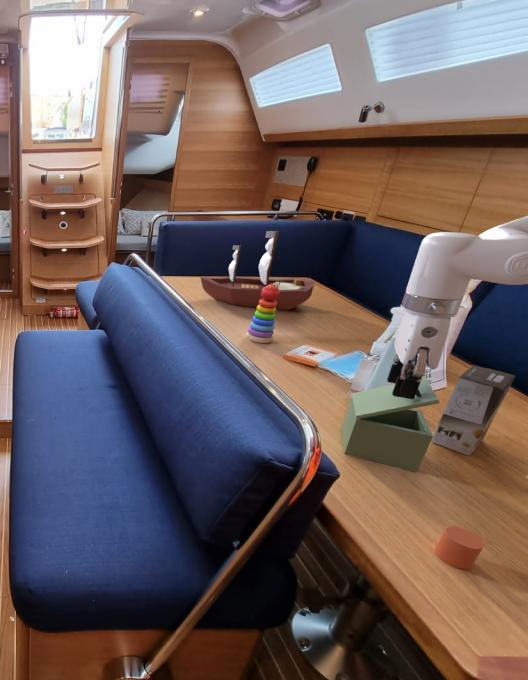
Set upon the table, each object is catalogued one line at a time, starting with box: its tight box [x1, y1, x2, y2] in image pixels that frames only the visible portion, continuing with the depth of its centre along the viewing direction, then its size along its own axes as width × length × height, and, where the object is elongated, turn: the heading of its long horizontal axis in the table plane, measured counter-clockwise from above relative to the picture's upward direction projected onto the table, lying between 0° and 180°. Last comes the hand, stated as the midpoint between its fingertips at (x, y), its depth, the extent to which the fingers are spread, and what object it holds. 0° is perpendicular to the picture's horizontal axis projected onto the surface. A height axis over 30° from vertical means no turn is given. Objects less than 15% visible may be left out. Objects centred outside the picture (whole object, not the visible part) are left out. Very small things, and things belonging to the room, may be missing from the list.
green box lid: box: [350, 367, 441, 419], centre depth 83 cm, size 12×10×5 cm
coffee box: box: [430, 364, 516, 456], centre depth 86 cm, size 9×6×16 cm
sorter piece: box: [434, 525, 485, 570], centre depth 64 cm, size 4×4×4 cm
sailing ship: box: [200, 230, 315, 312], centre depth 165 cm, size 18×40×29 cm, turn 63°
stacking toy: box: [245, 285, 280, 344], centre depth 136 cm, size 8×8×19 cm
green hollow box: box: [340, 396, 433, 473], centre depth 87 cm, size 12×10×9 cm
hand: (400, 389), depth 82 cm, fingers closed on green box lid, 5 cm apart
